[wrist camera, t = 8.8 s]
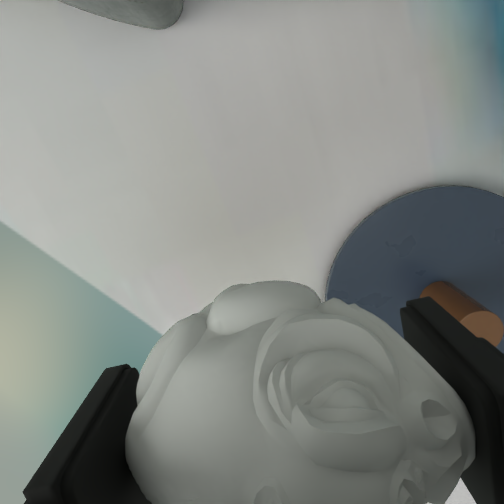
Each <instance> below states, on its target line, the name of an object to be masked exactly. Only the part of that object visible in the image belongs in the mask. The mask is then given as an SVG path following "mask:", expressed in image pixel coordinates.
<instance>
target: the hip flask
mask: <svg viewBox="0 0 504 504" xmlns="http://www.w3.org/2000/svg"><path fill="white" fill-rule="evenodd" d="M59 1H61V2H63V3H66V4H69V5H71V6H74V7H76V8H79V9H82V10H85V11H88V12H91V13H93V14H96V15H99V16H103V17H106V18H109V19H113V20H116V21H120V22H124V23H128V24H132V25H136V26H141V27H146V28H151V29H165V28H167V27H169V26H171V25H172V24H174V23H175V22H176V21H177V19H178V18H179V16H180V14H181V11H182V7H183V0H59Z"/></svg>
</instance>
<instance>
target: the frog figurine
mask: <svg viewBox="0 0 504 504" xmlns="http://www.w3.org/2000/svg"><path fill="white" fill-rule="evenodd" d="M136 397H137V405H138V406H137V408H136V410H135V411H134V413H133V415H132V418H131V421H130V424H129V427H128V430H127V434H126V438H125V457H126V462H127V464H128V465H129V469H130V471H131V472H132V475H133V477H134V478H135V480H136V483H137V484H138V485H139V487H140V489H141V492H142V493H143V494H144V495H145V497H146V499H147V500H149V501H150V502H151V503H152V504H426V503H427V502H429V503H432V504H445V502H446V500H447V499H448V497H449V496H450V494H451V493H452V491H453V490H454V488H455V487H456V485H457V483H458V481H459V479H460V476H461V474H462V472H463V471H464V470H466V469H467V468H468V467H469V466H470V465H471V463H472V462H473V460H474V459H475V457H476V435H475V430H474V426H473V422H472V419H471V417H470V414H469V412H468V410H467V408H466V406H465V404H464V402H463V401H462V400H461V398H460V397H459V396H458V394H457V393H456V391H455V390H454V389H453V388H452V387H451V386H450V385H449V384H448V383H447V382H446V381H445V380H444V379H443V378H442V377H441V376H440V375H439V374H438V373H437V371H436V370H435V369H434V368H433V367H432V366H431V365H430V364H429V363H428V362H427V361H426V360H425V359H424V358H423V357H422V356H421V355H420V354H419V353H418V352H417V351H416V350H415V349H414V348H413V347H412V346H411V345H410V344H409V343H408V342H407V341H405V340H404V339H403V338H402V337H401V336H400V335H399V334H398V333H397V332H396V331H395V330H393V329H392V328H391V327H390V326H389V325H388V324H387V323H386V322H385V321H383V320H381V319H380V318H378V317H377V316H375V315H374V314H372V313H370V312H368V311H366V310H364V309H362V308H360V307H359V306H357V305H356V304H355V303H354V304H350V305H348V304H346V303H345V302H343V301H342V300H340V299H337V298H332V299H330V300H327V301H325V302H323V303H321V301H320V298H319V297H318V295H317V294H316V292H314V291H313V290H312V289H311V288H309V287H308V286H305V285H302V284H299V283H295V282H290V281H264V282H256V283H252V284H238V285H233V286H231V287H229V288H227V289H226V290H224V291H223V292H221V293H220V294H219V295H218V296H217V297H216V298H215V299H214V302H212V303H211V304H209V305H208V306H206V307H205V308H204V309H203V310H202V311H201V312H199V313H197V314H193V315H191V316H189V317H187V318H185V319H183V320H180V321H178V322H177V323H176V324H175V325H173V326H172V327H171V328H170V329H169V330H168V331H167V332H166V333H165V334H164V335H163V336H162V337H161V338H160V340H159V341H158V342H157V343H156V345H155V346H154V347H153V349H152V350H151V352H150V354H149V355H148V357H147V360H146V361H145V364H144V365H143V367H142V369H141V373H140V376H139V380H138V383H137V389H136Z"/></svg>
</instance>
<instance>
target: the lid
mask: <svg viewBox="0 0 504 504" xmlns="http://www.w3.org/2000/svg"><path fill="white" fill-rule="evenodd" d="M427 296H430V297H431V298H432V299H433V300H435V301H436V302H437V303H438V304H439V305H440V306H442V307H443V308H444V309H445V310H446V311H447V312H448V313H450V314H451V315H452V316H453V317H454V318H455V319H457V320H458V321H459V322H460V323H461V324H462V325H463V326H465V327H466V328H467V329H468V330H469V331H470V332H472V333H473V334H474V335H475V336H476V337H477V338H478V337H482V338H484V339H486V340H488V341H489V342H490V343H491V344H492V345H494V346H495V347H496V348H497V349H498V350H499V351H501V352H502V353H503V354H504V198H503V197H502V196H499V195H497V194H494V193H491V192H489V191H486V190H481V189H477V188H472V187H465V186H454V185H453V186H436V187H430V188H425V189H420V190H417V191H414V192H410V193H407V194H405V195H402V196H400V197H398V198H396V199H393V200H391V201H390V202H388V203H386V204H385V205H383V206H381V207H380V208H378V209H377V210H375V211H374V212H373V213H372V214H370V215H369V216H368V217H366V218H365V219H364V220H363V221H362V222H361V223H360V224H359V225H358V226H357V227H356V228H355V229H354V230H353V232H352V233H351V234H350V235H349V237H348V238H347V239H346V240H345V242H344V243H343V245H342V247H341V248H340V250H339V252H338V253H337V255H336V258H335V260H334V262H333V265H332V267H331V270H330V273H329V277H328V280H327V286H326V293H325V301H327V300H330V299H332V298H337V299H340V300H342V301H343V302H345V303H346V304H348V305H350V304H354V303H355V304H356V305H357V306H359V307H360V308H362V309H364V310H366V311H368V312H370V313H372V314H374V315H375V316H377V317H378V318H380V319H381V320H383V321H385V322H386V323H387V324H388V325H389V326H390V327H391V328H392V329H393V330H395V331H396V332H397V333H398V334H399V335H400V336H401V337H402V338H403V339H404V335H403V329H402V322H401V316H400V308H403V307H406V302H407V301H409V300H413V299H418V298H422V297H427Z"/></svg>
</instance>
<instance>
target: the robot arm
mask: <svg viewBox="0 0 504 504" xmlns="http://www.w3.org/2000/svg"><path fill="white" fill-rule="evenodd" d="M400 316H401V322H402V329H403V335H404V340H405V341H407V342H408V343H409V344H410V345H411V346H412V347H413V348H414V349H415V350H416V351H417V352H418V353H419V354H420V355H421V356H422V357H423V358H424V359H425V360H426V361H427V362H428V363H429V364H430V365H431V366H432V367H433V368H434V369H435V370H436V371H437V373H438V374H439V375H440V376H441V377H442V378H443V379H444V380H445V381H446V382H447V383H448V384H449V385H450V386H451V387H452V388H453V389H454V390H455V391H456V393H457V394H458V396H459V397H460V398H461V400H462V401H463V402H464V404H465V406H466V408H467V410H468V412H469V414H470V417H471V419H472V422H473V426H474V430H475V435H476V457H475V459H474V460H473V462H472V463H471V465H470V466H469V467H468V468H467V469H466V470H464V471H463V472H462V474H461V476H460V477H461V479H462V480H463V482H464V484H465V485H466V487H467V489H468V490H469V492H470V493H471V495H472V497H473V498H474V500H475V501H476V503H477V504H504V354H503V353H502V352H501V351H499V350H498V349H497V348H496V347H495V346H494V345H492V344H491V343H490V342H489V341H488V340H486V339H484V338H482V337H478V338H477V337H476V336H475V335H474V334H473V333H472V332H470V331H469V330H468V329H467V328H466V327H465V326H463V325H462V324H461V323H460V322H459V321H458V320H457V319H455V318H454V317H453V316H452V315H451V314H450V313H448V312H447V311H446V310H445V309H444V308H443V307H442V306H440V305H439V304H438V303H437V302H436V301H435V300H433V299H432V298H431V297H430V296H427V297H422V298H418V299H413V300H409V301H407V302H406V307H403V308H400ZM139 376H140V375H139V373H138V371H137V369H136V368H131V367H130V366H129V365H128V364H124V365H120V366H115V367H110V368H106V369H105V370H104V372H103V373H102V375H101V376H100V378H99V379H98V381H97V382H96V383H95V385H94V387H93V388H92V389H91V391H90V392H89V394H88V395H87V397H86V398H85V400H84V401H83V403H82V404H81V406H80V407H79V409H78V410H77V412H76V413H75V415H74V416H73V418H72V419H71V421H70V422H69V424H68V425H67V427H66V428H65V430H64V431H63V433H62V434H61V436H60V437H59V439H58V440H57V441H56V443H55V445H54V446H53V447H52V449H51V451H50V452H49V453H48V455H47V456H46V458H45V459H44V461H43V462H42V464H41V465H40V467H39V468H38V470H37V471H36V473H35V474H34V476H33V477H32V479H31V480H30V482H29V483H28V485H27V486H26V488H25V489H24V491H23V494H24V495H25V498H26V499H27V500H26V501H25V503H24V504H152V503H151V502H150V501H149V500H147V499H146V497H145V495H144V494H143V493H142V492H141V489H140V487H139V485H138V484H137V483H136V480H135V478H134V477H133V475H132V472H131V471H130V469H129V465H128V464H127V462H126V457H125V438H126V434H127V430H128V427H129V424H130V421H131V418H132V415H133V413H134V411H135V410H136V408H137V406H138V405H137V397H136V389H137V383H138V380H139Z"/></svg>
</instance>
